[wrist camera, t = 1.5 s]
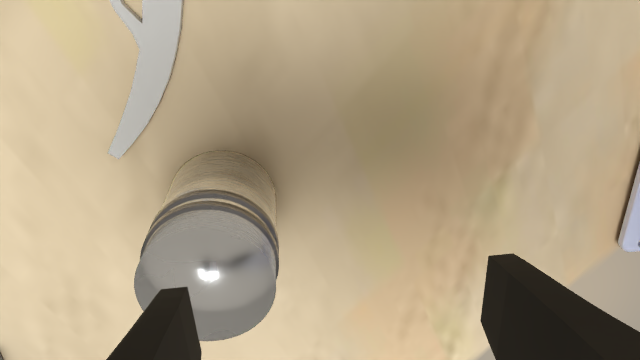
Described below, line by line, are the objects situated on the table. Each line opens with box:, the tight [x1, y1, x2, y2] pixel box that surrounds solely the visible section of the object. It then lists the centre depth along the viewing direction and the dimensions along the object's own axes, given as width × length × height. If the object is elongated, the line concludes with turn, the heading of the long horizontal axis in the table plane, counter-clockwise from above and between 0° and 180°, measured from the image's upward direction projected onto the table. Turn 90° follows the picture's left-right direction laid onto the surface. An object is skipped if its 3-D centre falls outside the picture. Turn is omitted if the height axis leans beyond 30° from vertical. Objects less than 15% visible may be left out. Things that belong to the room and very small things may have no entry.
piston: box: [134, 151, 279, 341], centre depth 19 cm, size 5×5×6 cm
